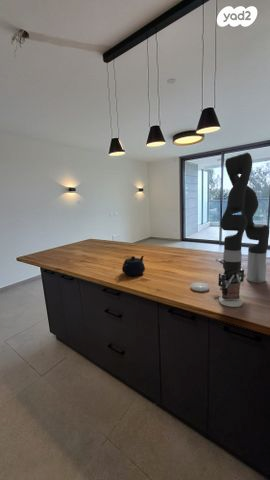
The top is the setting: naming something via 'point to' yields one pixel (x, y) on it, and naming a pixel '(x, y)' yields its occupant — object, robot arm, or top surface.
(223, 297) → the lighter
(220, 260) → the balance
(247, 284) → the top surface
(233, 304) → the dish low side
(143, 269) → the teapot
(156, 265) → the top surface
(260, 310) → the top surface
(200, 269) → the top surface
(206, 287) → the dish high side
